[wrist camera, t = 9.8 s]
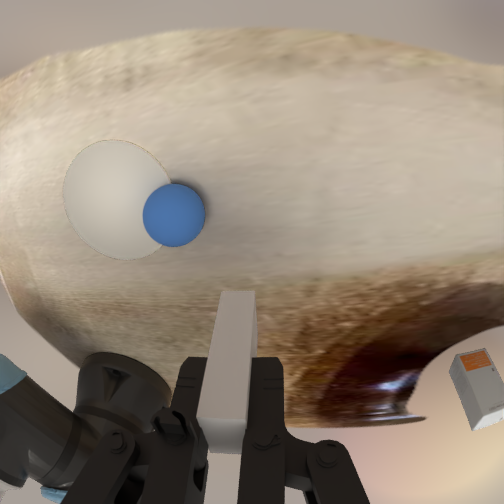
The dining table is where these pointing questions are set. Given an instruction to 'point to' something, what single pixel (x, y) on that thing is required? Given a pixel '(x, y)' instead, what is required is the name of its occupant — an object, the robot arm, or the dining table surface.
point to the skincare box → (478, 388)
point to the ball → (173, 215)
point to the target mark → (113, 197)
